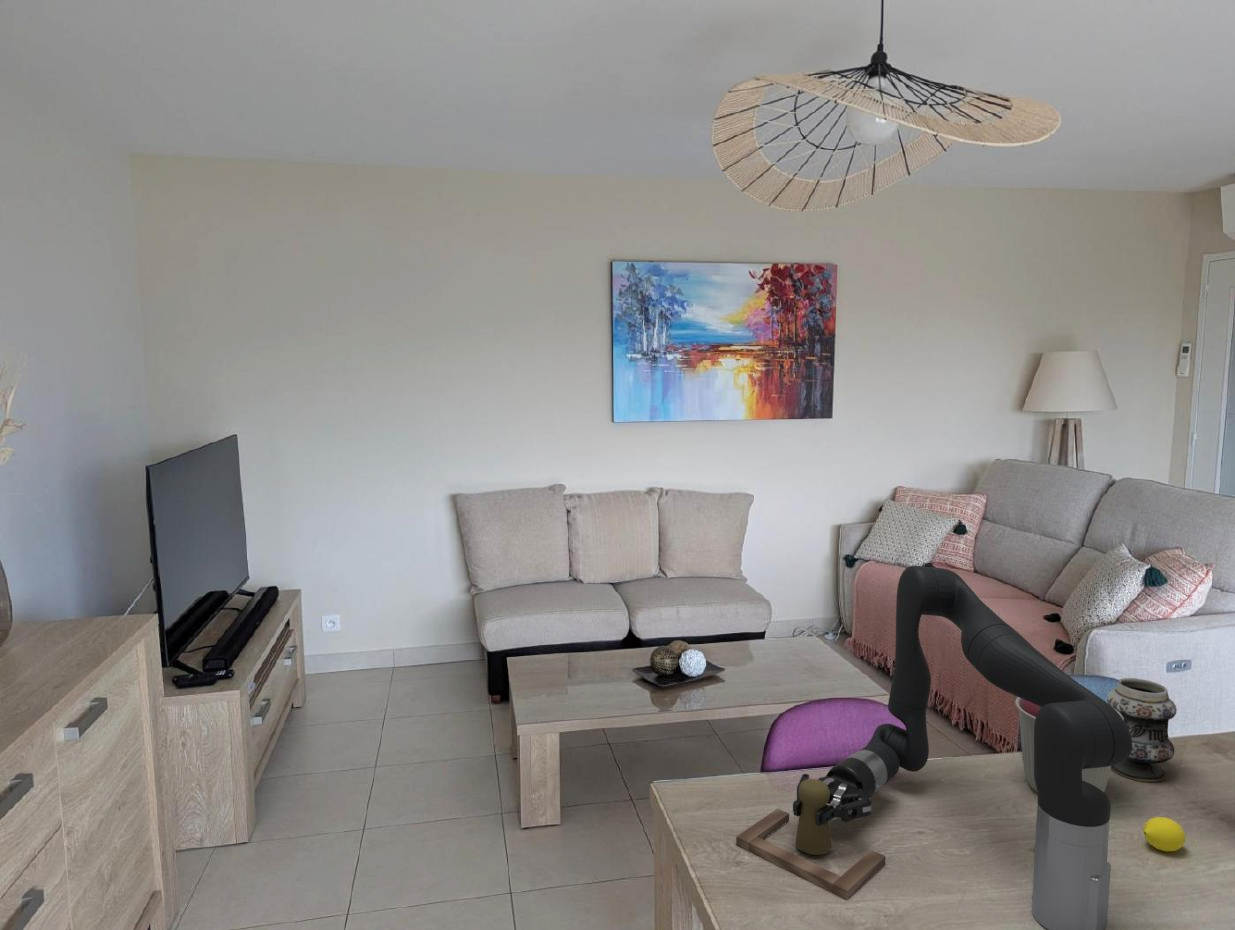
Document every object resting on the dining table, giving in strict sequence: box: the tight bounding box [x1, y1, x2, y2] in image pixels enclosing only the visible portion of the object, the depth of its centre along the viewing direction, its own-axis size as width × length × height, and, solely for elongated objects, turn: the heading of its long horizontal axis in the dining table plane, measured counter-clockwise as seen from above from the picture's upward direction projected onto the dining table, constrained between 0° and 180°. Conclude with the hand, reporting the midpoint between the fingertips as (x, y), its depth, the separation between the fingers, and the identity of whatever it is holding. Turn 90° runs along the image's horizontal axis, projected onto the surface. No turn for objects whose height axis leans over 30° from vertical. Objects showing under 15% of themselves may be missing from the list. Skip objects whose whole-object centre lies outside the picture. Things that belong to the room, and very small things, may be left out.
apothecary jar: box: [1106, 677, 1178, 783], centre depth 163 cm, size 12×12×18 cm
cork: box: [794, 778, 833, 856], centre depth 137 cm, size 6×6×11 cm
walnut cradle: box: [735, 808, 886, 900], centre depth 136 cm, size 21×12×2 cm, turn 45°
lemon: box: [1143, 816, 1186, 853], centre depth 137 cm, size 7×5×5 cm
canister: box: [1015, 696, 1124, 793], centre depth 155 cm, size 18×18×21 cm
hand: (806, 815), depth 135 cm, fingers closed on cork, 3 cm apart
